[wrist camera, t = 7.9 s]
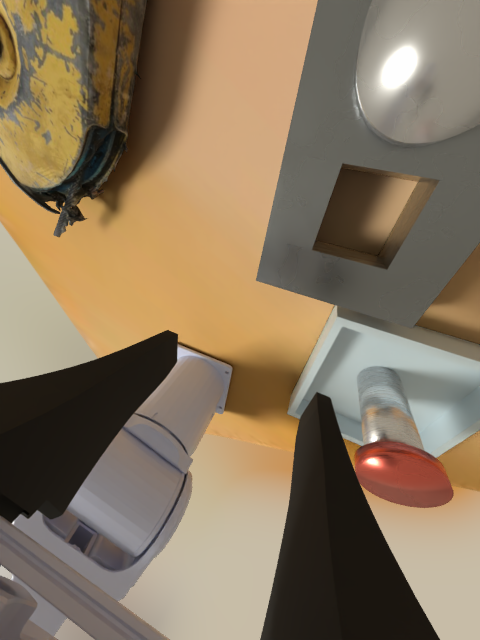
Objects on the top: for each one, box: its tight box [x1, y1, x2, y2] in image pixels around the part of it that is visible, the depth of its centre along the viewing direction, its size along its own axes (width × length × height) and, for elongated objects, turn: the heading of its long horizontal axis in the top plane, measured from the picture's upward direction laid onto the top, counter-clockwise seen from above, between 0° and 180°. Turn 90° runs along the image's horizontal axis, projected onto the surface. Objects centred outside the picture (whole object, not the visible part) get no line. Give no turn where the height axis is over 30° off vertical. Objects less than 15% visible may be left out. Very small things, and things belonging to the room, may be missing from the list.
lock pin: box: [355, 366, 453, 508], centre depth 15 cm, size 4×4×8 cm
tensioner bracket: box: [256, 0, 480, 328], centre depth 11 cm, size 14×10×4 cm
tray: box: [287, 305, 480, 458], centre depth 18 cm, size 12×12×2 cm
